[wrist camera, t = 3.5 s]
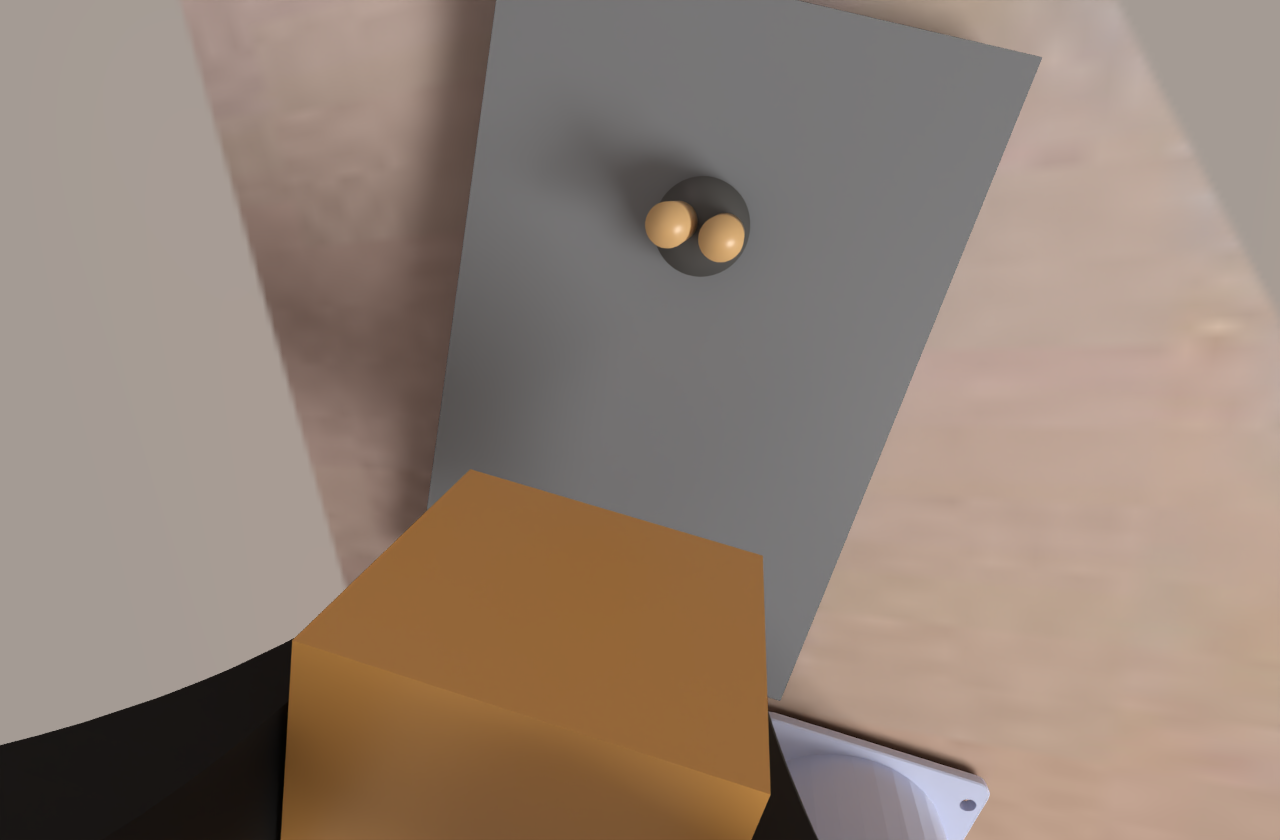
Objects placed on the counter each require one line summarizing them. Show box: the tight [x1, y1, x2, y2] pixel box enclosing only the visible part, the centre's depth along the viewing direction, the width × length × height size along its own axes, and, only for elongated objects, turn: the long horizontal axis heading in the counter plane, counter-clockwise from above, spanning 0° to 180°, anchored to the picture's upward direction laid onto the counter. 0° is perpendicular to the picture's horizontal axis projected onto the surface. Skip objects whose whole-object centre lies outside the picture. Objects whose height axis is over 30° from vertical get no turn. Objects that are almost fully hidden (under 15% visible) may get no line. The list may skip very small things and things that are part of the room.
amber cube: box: [281, 469, 771, 840], centre depth 11 cm, size 6×6×5 cm
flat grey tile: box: [427, 0, 1042, 701], centre depth 17 cm, size 18×12×5 cm, turn 166°
